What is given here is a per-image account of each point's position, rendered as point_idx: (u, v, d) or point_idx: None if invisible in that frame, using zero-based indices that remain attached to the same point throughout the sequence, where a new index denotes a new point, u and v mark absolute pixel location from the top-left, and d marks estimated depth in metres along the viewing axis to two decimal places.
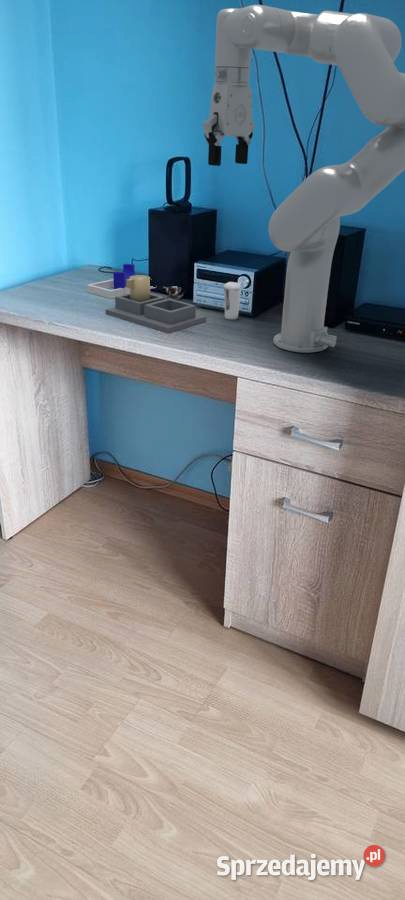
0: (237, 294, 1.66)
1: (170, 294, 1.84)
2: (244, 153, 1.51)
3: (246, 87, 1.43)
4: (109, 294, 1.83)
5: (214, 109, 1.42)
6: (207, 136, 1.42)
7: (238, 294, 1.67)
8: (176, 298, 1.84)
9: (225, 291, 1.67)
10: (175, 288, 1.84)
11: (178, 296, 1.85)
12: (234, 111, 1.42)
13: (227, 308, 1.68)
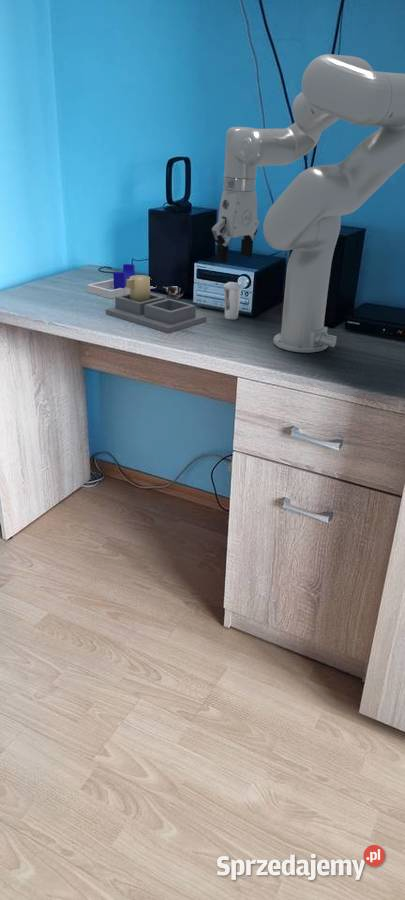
0: (237, 294, 1.66)
1: (170, 293, 1.85)
2: (249, 248, 1.65)
3: (252, 193, 1.57)
4: (109, 294, 1.83)
5: (223, 214, 1.56)
6: (216, 238, 1.56)
7: (238, 294, 1.67)
8: (176, 297, 1.85)
9: (225, 291, 1.67)
10: (175, 287, 1.85)
11: (178, 295, 1.85)
12: (241, 216, 1.56)
13: (227, 308, 1.68)
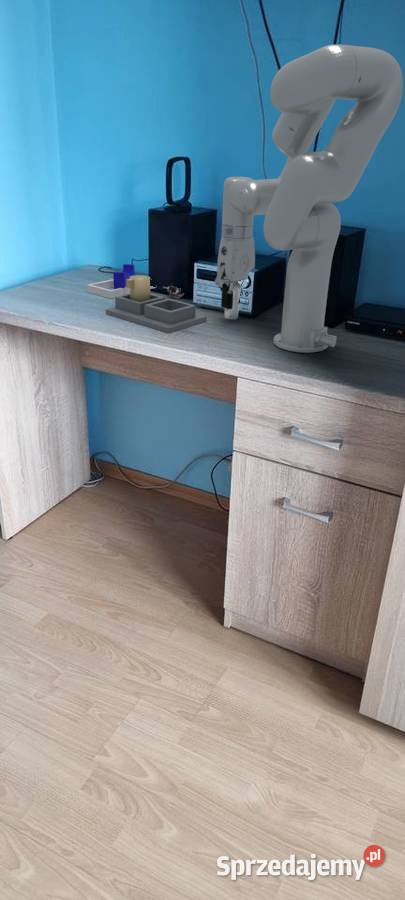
0: (237, 294, 1.66)
1: (171, 293, 1.85)
2: None
3: (249, 239, 1.61)
4: (109, 294, 1.83)
5: (221, 259, 1.60)
6: (221, 287, 1.63)
7: (238, 294, 1.67)
8: (177, 297, 1.85)
9: None
10: (176, 287, 1.85)
11: (179, 295, 1.85)
12: (239, 261, 1.61)
13: None
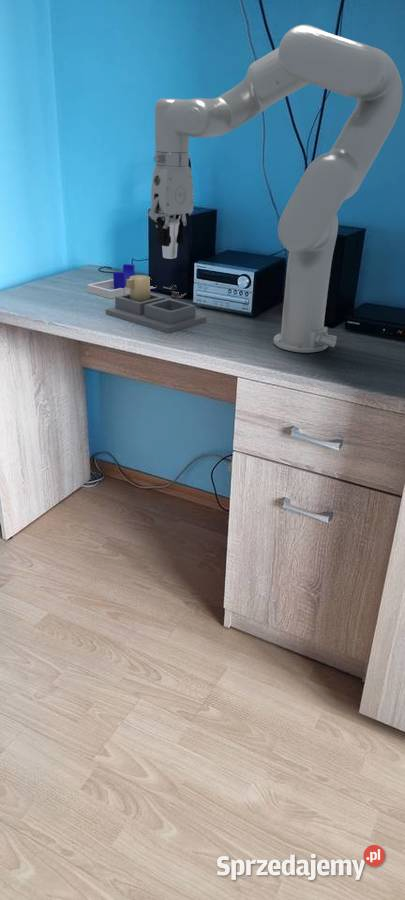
0: (174, 230, 1.54)
1: (173, 292, 1.86)
2: (180, 234, 1.57)
3: (185, 169, 1.50)
4: (109, 294, 1.83)
5: (155, 190, 1.49)
6: (156, 221, 1.51)
7: (175, 230, 1.55)
8: (179, 296, 1.86)
9: None
10: None
11: (181, 294, 1.86)
12: (174, 192, 1.49)
13: (164, 246, 1.57)
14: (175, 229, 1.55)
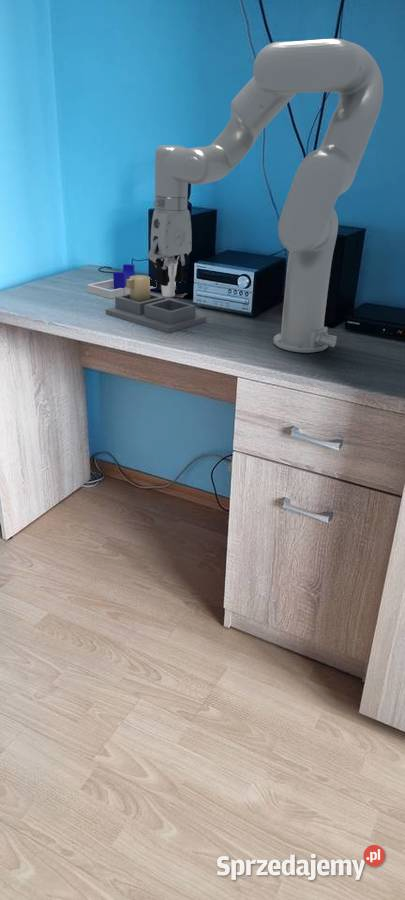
0: (173, 270, 1.59)
1: None
2: (179, 273, 1.62)
3: (184, 212, 1.54)
4: (109, 294, 1.83)
5: (154, 233, 1.53)
6: (155, 262, 1.56)
7: (174, 270, 1.59)
8: (180, 296, 1.86)
9: None
10: None
11: (182, 294, 1.87)
12: (173, 235, 1.53)
13: None
14: (174, 269, 1.59)
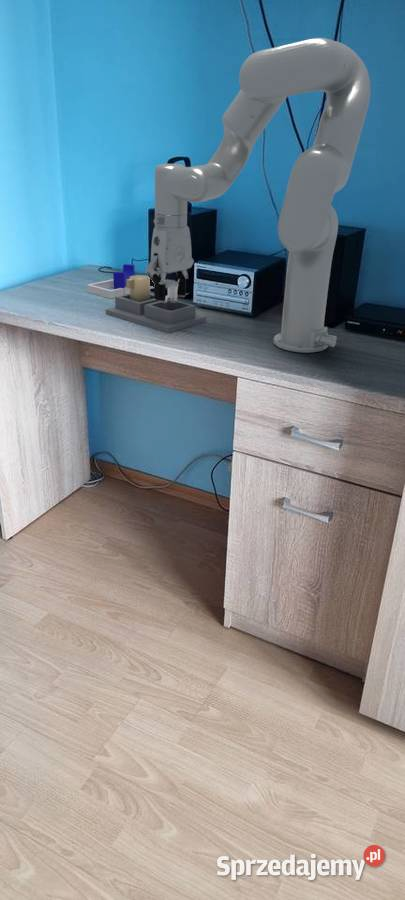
0: (173, 292, 1.61)
1: None
2: (182, 286, 1.64)
3: (184, 229, 1.56)
4: (109, 294, 1.83)
5: (154, 250, 1.55)
6: (152, 277, 1.56)
7: (174, 292, 1.61)
8: (182, 296, 1.87)
9: None
10: None
11: None
12: (173, 252, 1.55)
13: (164, 307, 1.63)
14: (174, 291, 1.61)
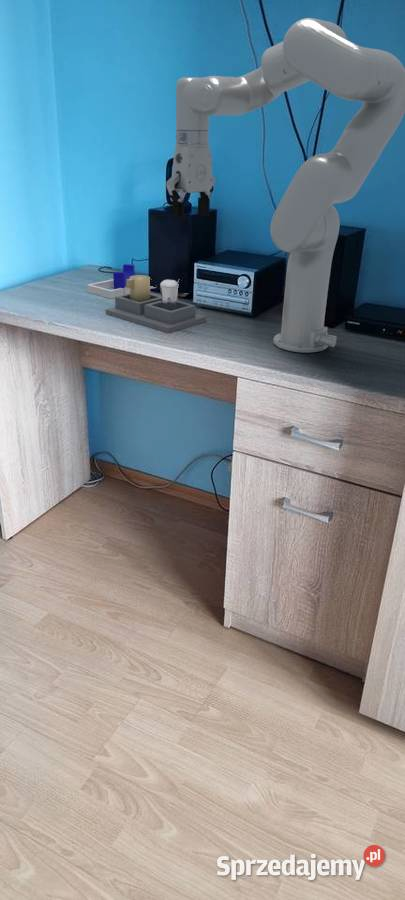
0: (173, 292, 1.61)
1: None
2: (206, 206, 1.61)
3: (206, 147, 1.53)
4: (109, 294, 1.83)
5: (176, 168, 1.52)
6: (170, 193, 1.52)
7: (175, 292, 1.61)
8: (182, 295, 1.87)
9: (161, 289, 1.62)
10: None
11: (184, 293, 1.88)
12: (195, 170, 1.52)
13: (164, 307, 1.63)
14: (174, 291, 1.61)
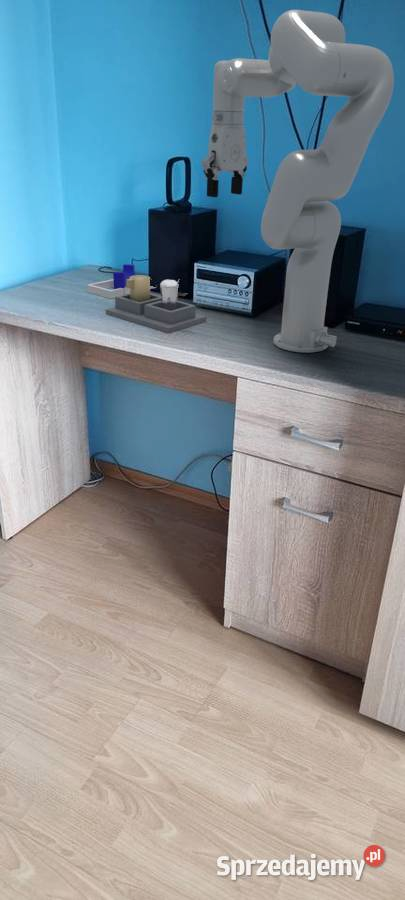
0: (173, 292, 1.61)
1: None
2: (239, 185, 1.69)
3: (240, 128, 1.61)
4: (109, 294, 1.83)
5: (212, 147, 1.60)
6: (206, 171, 1.60)
7: (175, 292, 1.61)
8: (182, 294, 1.88)
9: (161, 289, 1.62)
10: None
11: None
12: (230, 149, 1.60)
13: (164, 307, 1.63)
14: (174, 291, 1.61)
